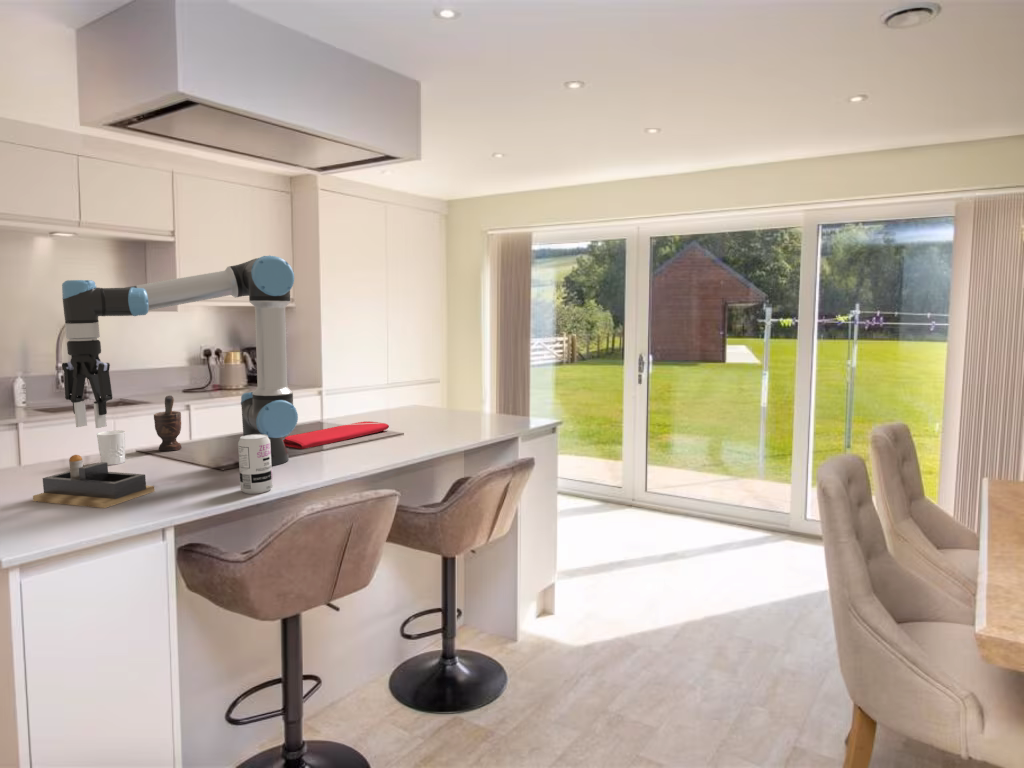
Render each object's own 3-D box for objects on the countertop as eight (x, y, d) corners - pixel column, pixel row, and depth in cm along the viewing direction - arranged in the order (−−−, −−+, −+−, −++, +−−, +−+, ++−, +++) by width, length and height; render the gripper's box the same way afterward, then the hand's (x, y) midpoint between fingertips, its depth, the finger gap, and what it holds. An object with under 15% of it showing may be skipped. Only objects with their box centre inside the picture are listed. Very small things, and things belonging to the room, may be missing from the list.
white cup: (114, 466, 221) (112, 435, 220) (93, 465, 223) (90, 434, 222) (132, 460, 229) (130, 430, 228) (112, 459, 231) (109, 430, 229)
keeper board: (154, 491, 190) (151, 452, 189) (105, 508, 175) (101, 465, 174) (86, 485, 197) (83, 447, 196) (33, 501, 182) (29, 460, 181)
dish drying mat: (276, 445, 253) (275, 435, 252) (364, 428, 285) (363, 419, 284) (302, 450, 243) (302, 440, 243) (390, 432, 275) (389, 423, 275)
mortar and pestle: (193, 449, 245) (189, 393, 243) (169, 454, 238) (165, 396, 236) (175, 446, 252) (171, 391, 249) (151, 450, 245) (147, 394, 242)
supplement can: (245, 487, 194) (242, 434, 192) (276, 486, 194) (273, 433, 193) (236, 495, 186) (233, 439, 184) (268, 493, 186) (265, 439, 184)
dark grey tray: (77, 483, 194) (74, 458, 193) (146, 488, 187) (144, 463, 186) (43, 492, 185) (41, 467, 184) (115, 499, 178) (113, 472, 177)
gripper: (124, 338, 183) (131, 425, 185) (68, 338, 188) (76, 423, 191) (99, 340, 175) (107, 430, 178) (42, 340, 181) (51, 427, 184)
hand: (91, 426), depth 185 cm, fingers open, 6 cm apart
